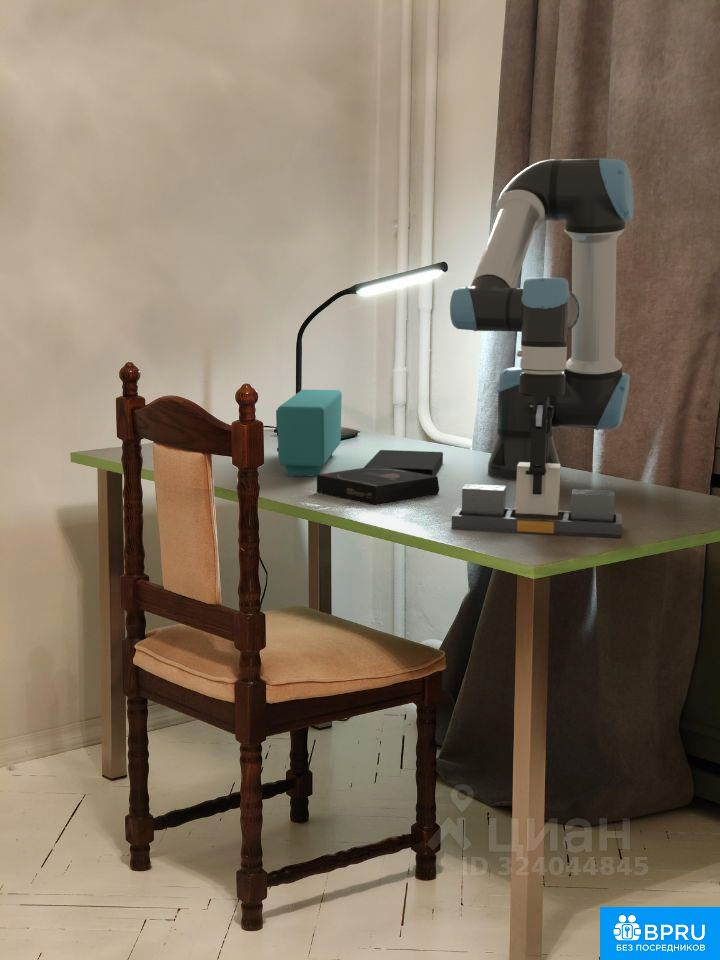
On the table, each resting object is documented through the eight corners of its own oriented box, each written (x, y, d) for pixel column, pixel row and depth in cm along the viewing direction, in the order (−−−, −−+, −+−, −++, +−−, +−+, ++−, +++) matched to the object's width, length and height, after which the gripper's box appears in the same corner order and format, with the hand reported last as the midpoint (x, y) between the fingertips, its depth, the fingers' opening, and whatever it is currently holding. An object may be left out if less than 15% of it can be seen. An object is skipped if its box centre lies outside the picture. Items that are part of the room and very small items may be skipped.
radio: (297, 453, 286) (297, 389, 283) (341, 454, 285) (341, 389, 282) (273, 478, 252) (272, 406, 250) (323, 479, 251) (323, 407, 249)
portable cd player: (439, 496, 237) (439, 476, 236) (375, 507, 225) (375, 486, 225) (380, 484, 249) (380, 465, 248) (316, 495, 237) (316, 474, 237)
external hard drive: (442, 465, 272) (443, 452, 272) (432, 483, 250) (432, 469, 249) (379, 463, 275) (379, 449, 274) (363, 481, 252) (363, 466, 252)
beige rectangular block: (517, 508, 210) (519, 461, 208) (558, 510, 208) (560, 463, 207) (515, 513, 206) (517, 466, 204) (557, 515, 204) (559, 468, 203)
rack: (458, 518, 215) (458, 481, 214) (621, 526, 209) (623, 488, 208) (451, 529, 206) (452, 490, 205) (621, 538, 200) (623, 499, 199)
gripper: (523, 367, 212) (519, 499, 216) (515, 375, 195) (510, 519, 199) (567, 368, 211) (562, 501, 215) (563, 377, 194) (557, 521, 198)
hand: (537, 509), depth 207 cm, fingers closed on beige rectangular block, 4 cm apart
